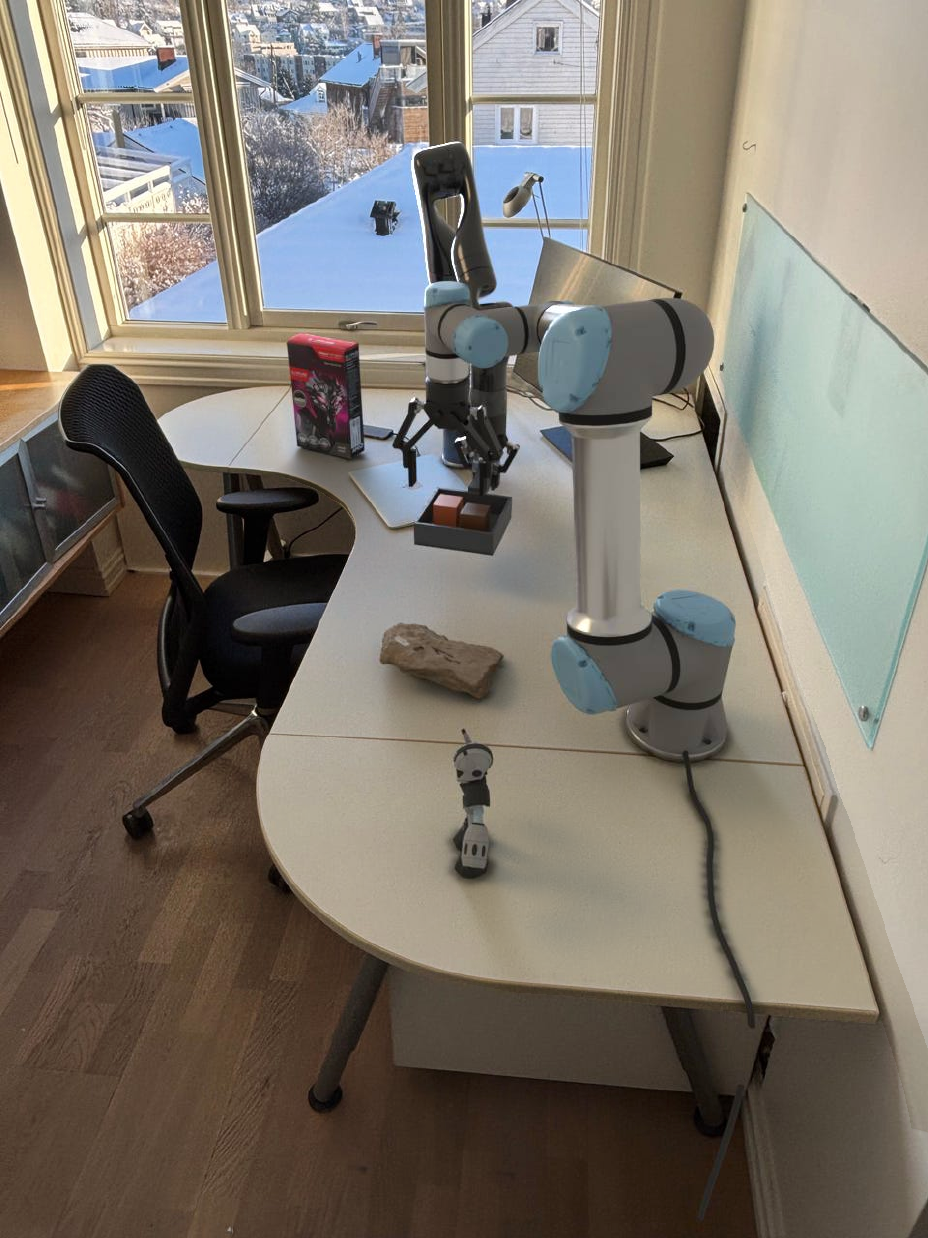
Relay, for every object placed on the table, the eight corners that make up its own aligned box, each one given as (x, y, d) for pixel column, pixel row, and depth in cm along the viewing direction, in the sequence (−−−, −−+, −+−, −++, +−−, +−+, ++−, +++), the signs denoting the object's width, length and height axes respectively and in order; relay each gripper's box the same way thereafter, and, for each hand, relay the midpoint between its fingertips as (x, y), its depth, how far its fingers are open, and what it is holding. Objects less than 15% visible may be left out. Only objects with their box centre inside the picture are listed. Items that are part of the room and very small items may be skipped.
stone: (355, 671, 149) (362, 639, 147) (387, 639, 163) (394, 609, 160) (477, 715, 146) (486, 682, 144) (499, 678, 159) (507, 648, 157)
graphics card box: (294, 447, 232) (283, 339, 217) (310, 437, 237) (301, 331, 222) (351, 461, 225) (344, 350, 210) (367, 450, 230) (361, 342, 215)
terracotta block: (456, 536, 174) (456, 507, 170) (433, 532, 175) (433, 504, 171) (463, 524, 177) (463, 496, 174) (440, 521, 178) (440, 493, 175)
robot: (495, 914, 114) (500, 797, 103) (456, 915, 114) (456, 798, 103) (484, 799, 130) (487, 688, 119) (450, 801, 130) (450, 689, 119)
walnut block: (483, 545, 171) (484, 516, 167) (460, 541, 172) (460, 513, 168) (489, 533, 174) (490, 505, 171) (466, 530, 175) (466, 502, 172)
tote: (493, 556, 169) (493, 529, 166) (414, 544, 172) (413, 518, 169) (524, 490, 190) (525, 466, 187) (453, 481, 194) (453, 457, 190)
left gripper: (526, 404, 181) (522, 484, 191) (458, 397, 184) (457, 476, 194) (518, 418, 175) (514, 500, 185) (447, 410, 178) (448, 491, 188)
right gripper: (522, 376, 160) (517, 488, 171) (386, 363, 165) (390, 472, 177) (512, 391, 153) (508, 505, 165) (371, 376, 159) (377, 488, 171)
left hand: (485, 487), depth 189 cm, fingers closed on tote, 2 cm apart
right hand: (447, 488), depth 171 cm, fingers open, 13 cm apart
